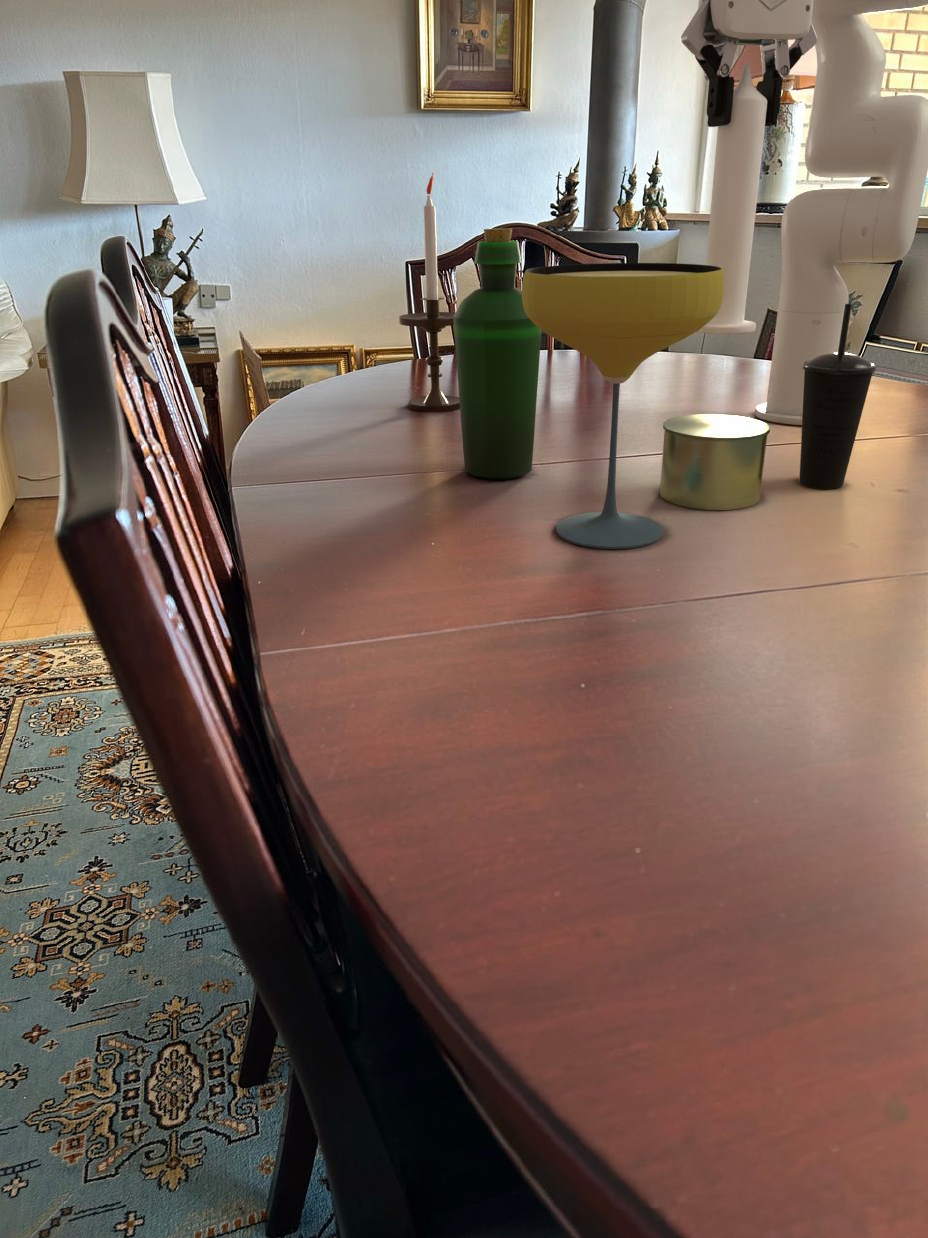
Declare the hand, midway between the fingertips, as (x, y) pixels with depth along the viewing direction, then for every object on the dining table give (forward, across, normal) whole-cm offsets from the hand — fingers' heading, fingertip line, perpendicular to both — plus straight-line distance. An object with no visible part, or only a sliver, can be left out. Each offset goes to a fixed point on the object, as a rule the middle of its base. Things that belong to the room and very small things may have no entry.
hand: (741, 123), depth 89 cm
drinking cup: (+38, +13, -4) cm, 40 cm away
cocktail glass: (+38, -17, -10) cm, 43 cm away
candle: (+20, 0, 0) cm, 20 cm away
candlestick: (+38, -17, +57) cm, 70 cm away
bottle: (+38, -20, +15) cm, 45 cm away
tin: (+37, -1, -3) cm, 38 cm away
